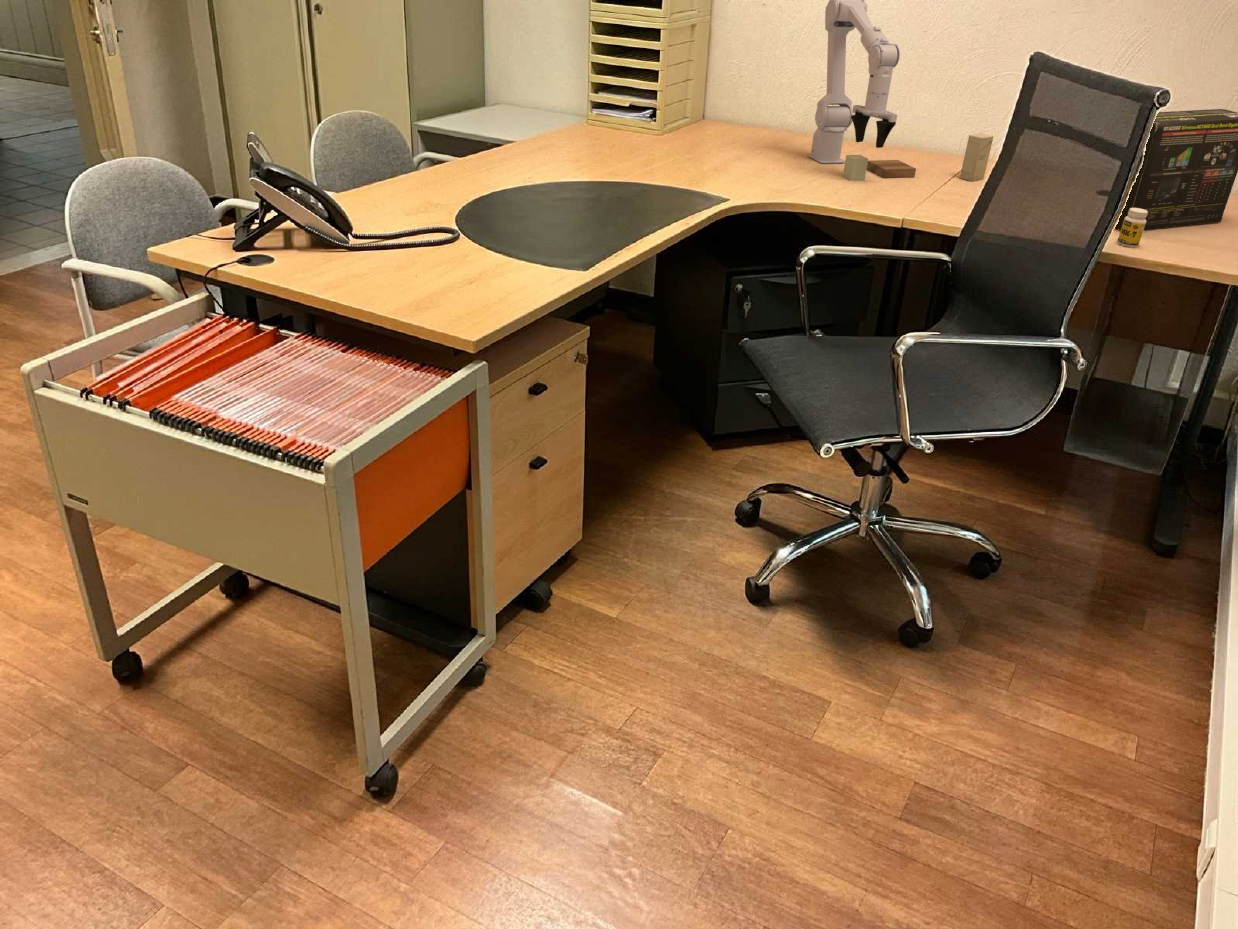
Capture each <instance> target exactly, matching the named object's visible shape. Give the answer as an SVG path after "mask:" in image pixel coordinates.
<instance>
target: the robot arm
mask: <svg viewBox="0 0 1238 929" xmlns="http://www.w3.org/2000/svg"><path fill="white" fill-rule="evenodd" d="M824 11H825V12H824V13H825V14H824V15H825V17H824V18H825V19H824V25H825V26H824V28H825V31H827V53H826V54H827V56H826V57H827V60H826V61H827V62H826V65H827V66H826V94H825V95H824V96H823V97H821V99H820V100H818V102H817V104H816V111H815V115H814V121H815V125H816V127H817V128H816V129H815V131H814V133H813V136H812V143H811V147H810V149H811V150H810V153H808V154H807V157H809V158H812V159H813V160H814V161H816V162H818V163H821V164H845V160H844V159H842V158H841V154H842V150H843V149H842V148H843V142H844V136H845V132H847V131H848V128H850V127H851V125H852V124H853V127H854V133H855V134H854V135H855V143H862V142H864V138H865V136H866V135H865V134H866V130H867V126H868V123H869V121H870V120H871V117H872V118H875V119H879V120H876V121H875V124H876V141H875V148H876V149H882V148H883V147H884V146H885V143H886V140H887V139H888V136H889V134H890V133H891V131H892V130H893V128H894V127H895V126H896V125H897V118H898V114H897V113H894V112H892V111H890V110H887V106H888V105H887V104H888V101H889V100H888V99H889V93H890V87H891V81H892V76H893V70H894V69H895V68H896V66H897V65H898V64H899V61H900V58H901V57H900V53H901V52H900V49H899V46H898V44H896V43H891V42H890V41H889V40H888V39H887V37H886V36H885V35H884V33H883V31H882V28H881V27H880V26H876V25H873V23H872V21H871V20H870V17H869V16H868V14H867V12H868V3H867V2H866V0H829V1H828V2H827V4H826V6H825V10H824ZM855 29H856V30H857V31H858V32H859V34H860V35H861V36H860V42H861V44H862V46H863V48H864V50H865V51H866V52H867V54H868V55H867V56H868V57H867V61H868V62H867V63H868V74H869V78H868V85H867V89H866V97H865V103H864V105H860V104H854V105H852V99H850V97H848V96H847V95H846V93H845V91H846V90H845V88H846V85H845V84H846V56H847V55H846V53H847V51H846V49H847V35H848V34H849V33H850V32H852V31H854V30H855Z"/></svg>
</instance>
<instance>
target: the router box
mask: <svg viewBox="0 0 1238 929" xmlns="http://www.w3.org/2000/svg"><path fill="white" fill-rule="evenodd" d="M1158 112H1159V113H1158V114H1157V116H1156V119H1155V121H1154V123H1153V127H1152V129H1151V131H1150V137H1149V139H1148V142H1147V144H1146V151H1145V155H1144V161H1143V165H1142V168H1141V169H1140V171H1139V175H1138V176H1137V178H1136V182H1135V183H1134V185H1133V186H1132V190H1131V192H1130V194H1129V198H1128V200H1127V202H1126V206H1125V208H1124V209H1123V211H1122V215H1121V216H1120V218H1119V222H1118V224H1117V225H1116V227H1115V230H1118V231H1121V228H1122V225H1123V222H1124V219H1125V217H1126V216H1128V212H1129V209H1130V208H1140V209H1144V210H1147V211H1148V213H1147V216H1146V218H1145V219H1146V224H1145V227H1144V230H1143V231H1149V230H1159V229H1168V228H1169V229H1170V228H1175V227H1177V228H1178V227H1186V226H1188V227H1189V226H1197V225H1204V224H1213V223H1221V222H1222V219H1223V216H1224V212H1225V210H1226V207H1227V204H1228V200H1229V199H1230V196H1231V193H1232V189H1233V186H1234V184H1235V180H1236V177H1237V174H1238V112H1237V111H1232V110H1230V109H1229V110H1228V109H1225V108H1224V109H1222V108H1215V109H1196V110H1195V109H1193V110H1177V111H1175V110H1174V111H1172V110H1171V111H1158Z"/></svg>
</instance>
